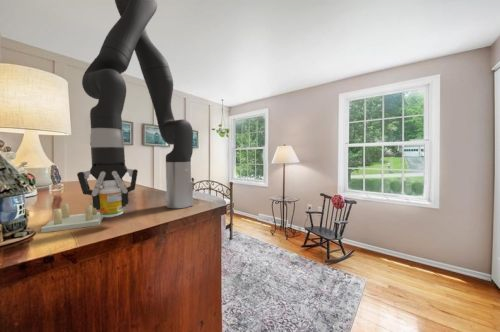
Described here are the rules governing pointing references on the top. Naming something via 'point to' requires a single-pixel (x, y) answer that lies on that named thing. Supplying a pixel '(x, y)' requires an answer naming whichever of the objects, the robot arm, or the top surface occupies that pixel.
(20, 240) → the top surface
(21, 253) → the top surface
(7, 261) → the top surface
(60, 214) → the standoff chassis
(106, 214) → the supplement bottle
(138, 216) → the top surface
